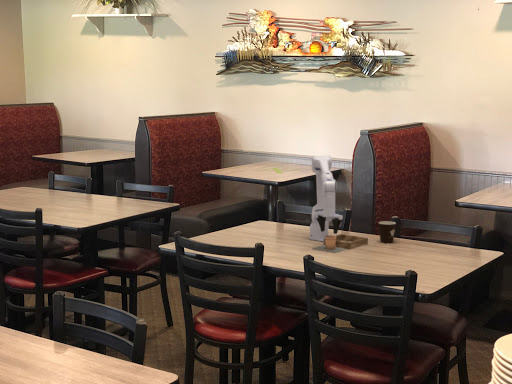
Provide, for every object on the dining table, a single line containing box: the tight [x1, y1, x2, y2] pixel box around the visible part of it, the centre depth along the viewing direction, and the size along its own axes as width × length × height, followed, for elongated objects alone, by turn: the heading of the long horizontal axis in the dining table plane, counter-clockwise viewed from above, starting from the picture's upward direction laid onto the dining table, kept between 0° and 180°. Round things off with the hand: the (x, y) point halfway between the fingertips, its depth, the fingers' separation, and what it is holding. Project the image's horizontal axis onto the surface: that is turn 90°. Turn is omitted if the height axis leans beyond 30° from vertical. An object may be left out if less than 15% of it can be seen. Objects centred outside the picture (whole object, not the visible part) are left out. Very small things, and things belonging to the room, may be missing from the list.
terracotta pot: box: [325, 234, 337, 250], centre depth 335 cm, size 6×6×6 cm
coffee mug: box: [378, 220, 398, 244], centre depth 349 cm, size 12×9×10 cm
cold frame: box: [323, 233, 369, 250], centre depth 345 cm, size 16×16×3 cm
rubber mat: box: [311, 244, 347, 254], centre depth 334 cm, size 14×9×1 cm, turn 48°
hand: (329, 232), depth 333 cm, fingers open, 7 cm apart
